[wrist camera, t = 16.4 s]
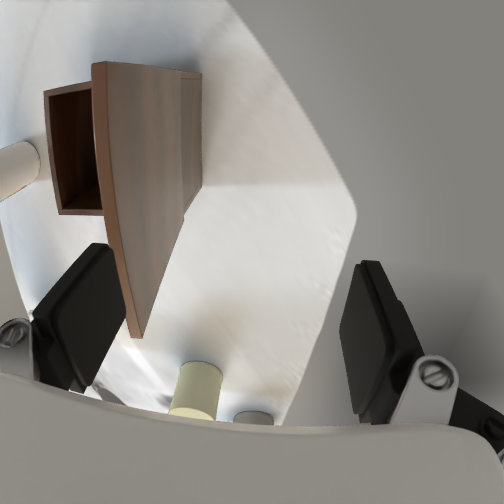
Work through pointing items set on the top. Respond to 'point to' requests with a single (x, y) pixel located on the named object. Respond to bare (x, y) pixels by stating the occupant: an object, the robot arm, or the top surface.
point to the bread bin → (83, 145)
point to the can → (197, 391)
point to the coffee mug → (253, 418)
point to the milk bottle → (17, 168)
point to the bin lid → (139, 175)
